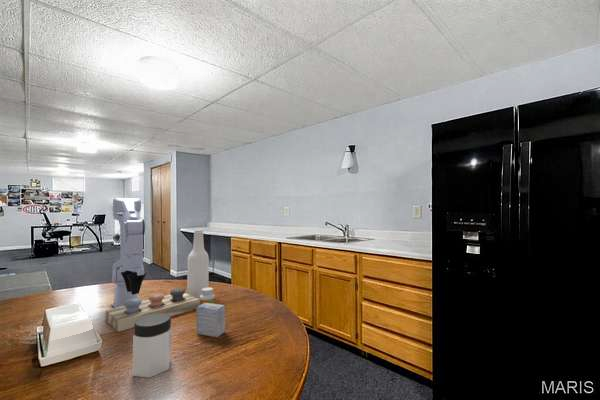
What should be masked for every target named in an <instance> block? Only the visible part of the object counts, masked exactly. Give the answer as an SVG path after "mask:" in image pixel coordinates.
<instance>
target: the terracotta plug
mask: <svg viewBox="0 0 600 400" xmlns="http://www.w3.org/2000/svg"><path fill="white" fill-rule="evenodd" d="M164 296H165V294H164V293H162V292H159V293H158V292H157V293H151V294H149V295H148V300H149V301H151V308H155V307H159V306H162V299H164Z"/></svg>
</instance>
